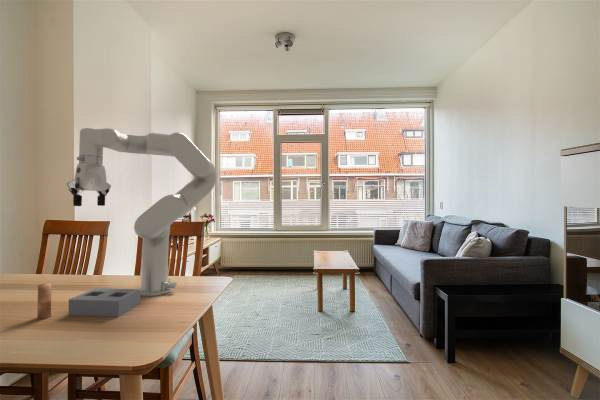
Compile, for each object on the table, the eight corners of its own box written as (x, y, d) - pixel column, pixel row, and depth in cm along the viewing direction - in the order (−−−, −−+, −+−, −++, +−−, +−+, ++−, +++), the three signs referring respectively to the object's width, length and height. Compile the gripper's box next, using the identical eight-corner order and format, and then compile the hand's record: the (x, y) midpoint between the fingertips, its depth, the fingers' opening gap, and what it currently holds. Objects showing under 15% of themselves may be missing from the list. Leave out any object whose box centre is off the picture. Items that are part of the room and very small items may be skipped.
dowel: (53, 315, 95) (54, 283, 95) (44, 319, 92) (45, 286, 91) (43, 315, 95) (44, 283, 95) (34, 319, 92) (34, 286, 92)
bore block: (139, 303, 107) (140, 289, 107) (118, 316, 95) (118, 301, 95) (95, 302, 107) (95, 288, 107) (68, 315, 95) (68, 299, 95)
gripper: (76, 158, 107) (75, 206, 107) (117, 164, 124) (116, 205, 124) (60, 158, 109) (59, 205, 109) (103, 164, 126) (102, 205, 126)
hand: (89, 205), depth 117 cm, fingers open, 9 cm apart
